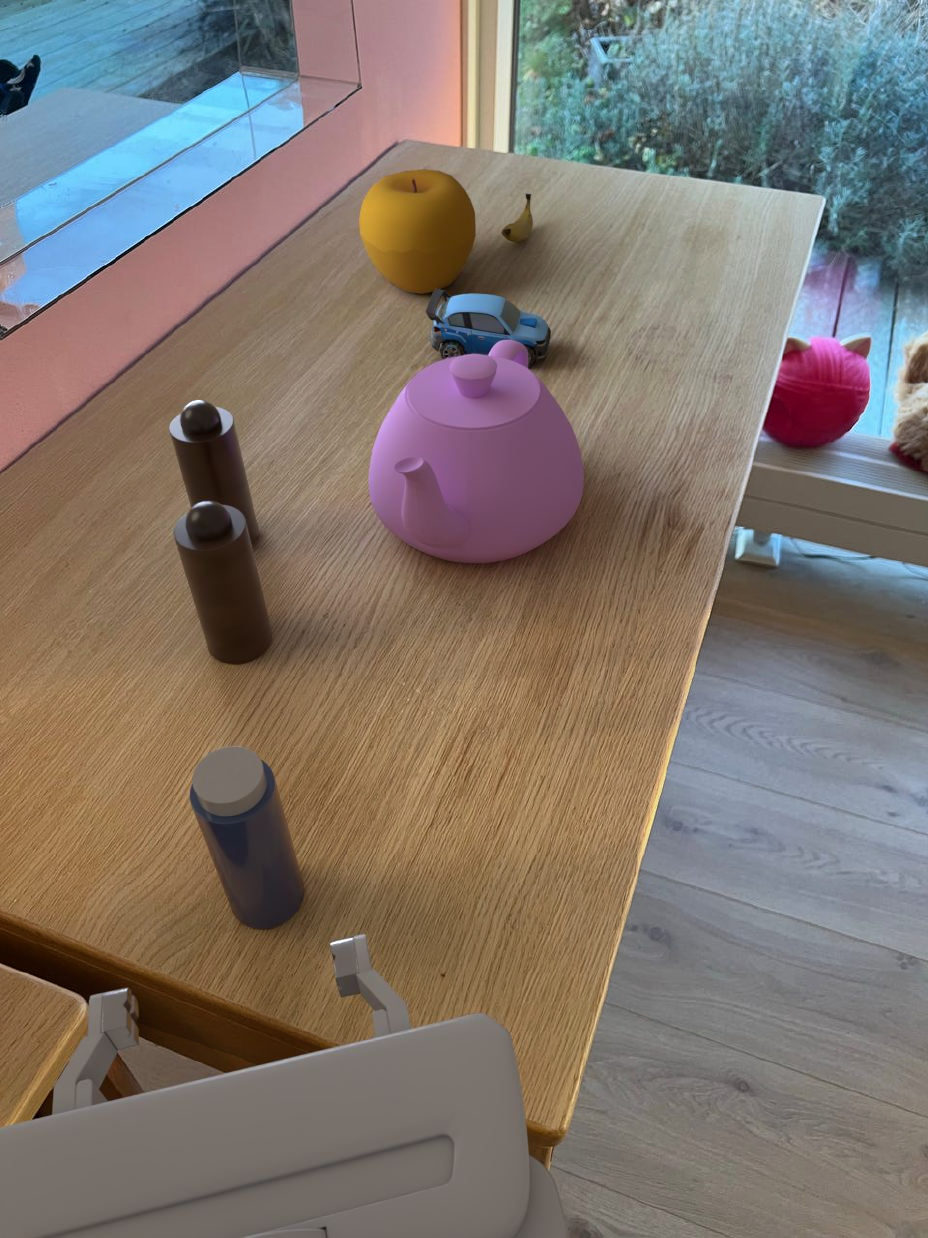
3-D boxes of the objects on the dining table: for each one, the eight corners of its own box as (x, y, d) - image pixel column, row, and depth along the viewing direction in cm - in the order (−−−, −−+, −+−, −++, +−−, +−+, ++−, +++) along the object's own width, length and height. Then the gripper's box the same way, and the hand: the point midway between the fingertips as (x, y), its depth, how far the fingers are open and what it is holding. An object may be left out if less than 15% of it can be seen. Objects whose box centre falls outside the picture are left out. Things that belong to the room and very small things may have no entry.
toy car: (545, 371, 100) (547, 319, 95) (427, 363, 101) (424, 312, 97) (551, 341, 104) (553, 289, 100) (438, 334, 105) (435, 283, 101)
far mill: (188, 544, 82) (149, 412, 73) (223, 510, 85) (190, 379, 76) (236, 561, 81) (202, 428, 72) (270, 526, 84) (241, 394, 75)
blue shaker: (215, 910, 59) (166, 790, 50) (258, 852, 62) (219, 728, 53) (277, 941, 57) (237, 823, 49) (318, 880, 60) (287, 757, 52)
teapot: (429, 415, 95) (421, 278, 85) (612, 450, 90) (625, 309, 80) (310, 587, 78) (283, 443, 69) (526, 641, 74) (530, 494, 64)
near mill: (194, 651, 74) (151, 516, 65) (233, 610, 77) (197, 475, 68) (247, 672, 72) (211, 537, 63) (285, 629, 75) (255, 494, 66)
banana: (517, 262, 116) (517, 228, 113) (497, 260, 117) (497, 226, 114) (538, 225, 123) (539, 192, 120) (519, 223, 124) (519, 191, 121)
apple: (345, 295, 112) (332, 192, 104) (396, 246, 120) (389, 147, 112) (450, 316, 108) (445, 210, 100) (496, 264, 116) (495, 162, 108)
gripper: (591, 1271, 30) (482, 873, 40) (-129, 1473, 27) (-58, 992, 37) (581, 1316, 34) (485, 948, 44) (-39, 1493, 32) (3, 1060, 41)
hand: (233, 969), depth 40 cm, fingers open, 8 cm apart
